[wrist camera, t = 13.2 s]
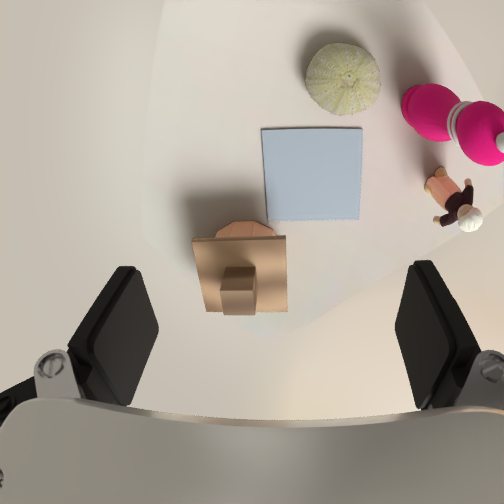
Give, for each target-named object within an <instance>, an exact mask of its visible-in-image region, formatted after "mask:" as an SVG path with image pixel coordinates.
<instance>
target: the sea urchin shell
mask: <svg viewBox="0 0 504 504" xmlns="http://www.w3.org/2000/svg"><path fill="white" fill-rule="evenodd" d="M379 72H380V71H379V69H378V66H377V63H376V61H375V59H374V57H373V56H372V55H371V54H370V53H368V52H367V51H365V50H364V49H362V48H360V47H358V46H354V45H349V44H346V43H333V44H328V45H325V46H323V47H322V48H321V49H320V50H319V51H318V52H317V53H316V54H315V55H314V56H313V58H312V60H311V62H310V64H309V65H308V67H307V73H306V78H305V83H306V87H307V90H308V91H309V93H310V95H311V98H312V99H313V100H314V101H315V102H317V103H318V104H319V106H321V107H322V108H323V109H325V110H327V111H329V112H330V113H332V114H335V115H340V116H342V115H349V114H352V115H353V114H354V113H356V112H359V111H362V110H365V109H366V108H367V107H369V106H370V105H371V104H372V103H374V102H375V100H376V99H377V97H378V94H379V90H380V85H381V83H380V73H379Z"/></svg>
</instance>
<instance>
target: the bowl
mask: <svg viewBox="0 0 504 504" xmlns="http://www.w3.org/2000/svg"><path fill="white" fill-rule="evenodd" d="M245 236H277V235H276V234H275V232H274V231H273V230H272V229H270V228H268V227H266V226H264V225H262V224H260V223H257V222H255V221H237V222H232V223H230V224H229V225H227V226H225V227H224V228H222V229H220V230H219V231H217V233H216V236H215V237H245Z"/></svg>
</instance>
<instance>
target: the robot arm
mask: <svg viewBox="0 0 504 504" xmlns="http://www.w3.org/2000/svg"><path fill="white" fill-rule="evenodd" d="M158 331H159V327H158V323H157V320H156V317H155V314H154V311H153V308H152V305H151V303H150V300H149V297H148V294H147V291H146V288H145V285H144V281H143V278H142V275H141V273H140V271H138V270H136V268H135V267H134V266H119V267H118V268H117V269H116V271H115V272H114V274H113V275H112V276H111V278H110V279H109V281H108V282H107V284H106V285H105V287H104V288H103V290H102V291H101V293H100V294H99V296H98V297H97V299H96V300H95V302H94V303H93V305H92V306H91V308H90V310H89V311H88V313H87V314H86V316H85V317H84V319H83V320H82V322H81V324H80V325H79V327H78V328H77V330H76V332H75V333H74V335H73V336H72V338H71V340H70V341H69V343H68V347H69V349H68V351H67V352H65V351H63V350H60V349H59V350H51V351H48V352H47V353H45V354H43V355H42V356H41V357H40V358H39V359H38V361H37V363H36V364H35V367H34V376H33V377H31V378H29V379H27V380H25V381H23V382H21V383H19V384H17V385H15V386H13V387H11V388H9V389H7V390H5V391H3V392H2V393H0V504H504V355H503V354H501V353H500V352H497V351H494V350H486V351H481V349H480V348H479V345H478V343H477V341H476V339H475V337H474V335H473V333H472V331H471V329H470V327H469V325H468V323H467V321H466V319H465V317H464V315H463V313H462V312H461V310H460V308H459V306H458V304H457V302H456V300H455V299H454V298H453V297H452V295H451V293H450V291H449V289H448V288H447V286H446V284H445V282H444V281H443V279H442V277H441V276H440V274H439V272H438V271H437V269H436V267H435V266H434V264H433V262H432V261H431V260H420V261H418V260H417V261H415V262H414V264H413V265H410V266H409V268H408V273H407V277H406V282H405V286H404V290H403V295H402V299H401V303H400V307H399V311H398V314H397V318H396V322H395V332H396V336H397V339H398V342H399V346H400V349H401V353H402V356H403V359H404V363H405V366H406V370H407V374H408V378H409V381H410V385H411V389H412V393H413V397H414V401H415V405H416V407H417V408H418V409H421V411H415V412H407V413H399V414H390V415H380V416H370V417H359V418H345V419H327V420H246V419H227V418H213V417H202V416H191V415H182V414H173V413H165V412H158V411H151V410H144V409H138V408H132V407H126V406H127V405H130V404H131V402H132V399H133V397H134V394H135V391H136V388H137V386H138V383H139V381H140V378H141V376H142V373H143V370H144V368H145V365H146V363H147V360H148V358H149V355H150V352H151V350H152V348H153V345H154V342H155V340H156V338H157V335H158Z"/></svg>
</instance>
